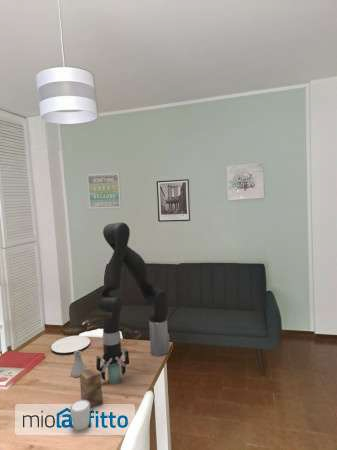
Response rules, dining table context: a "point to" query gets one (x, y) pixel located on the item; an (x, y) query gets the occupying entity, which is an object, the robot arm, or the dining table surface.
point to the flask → (78, 365)
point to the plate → (70, 344)
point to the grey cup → (80, 414)
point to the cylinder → (114, 373)
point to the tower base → (92, 397)
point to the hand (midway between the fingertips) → (113, 376)
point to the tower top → (90, 380)
